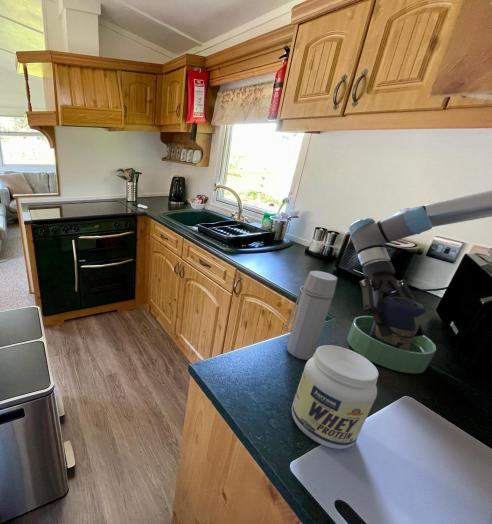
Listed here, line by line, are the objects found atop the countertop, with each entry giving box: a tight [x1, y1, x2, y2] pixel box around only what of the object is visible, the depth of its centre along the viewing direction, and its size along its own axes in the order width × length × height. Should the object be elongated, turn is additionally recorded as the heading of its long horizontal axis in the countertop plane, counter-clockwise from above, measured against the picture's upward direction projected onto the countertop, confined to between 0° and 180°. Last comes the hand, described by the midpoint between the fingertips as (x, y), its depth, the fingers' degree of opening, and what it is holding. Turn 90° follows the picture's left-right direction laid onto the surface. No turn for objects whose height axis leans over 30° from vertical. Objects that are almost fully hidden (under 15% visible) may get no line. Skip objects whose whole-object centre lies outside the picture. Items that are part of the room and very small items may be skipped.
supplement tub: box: [291, 344, 379, 450], centre depth 59 cm, size 12×12×17 cm
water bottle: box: [285, 270, 338, 361], centre depth 81 cm, size 9×8×25 cm
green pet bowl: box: [346, 315, 437, 375], centre depth 87 cm, size 19×19×7 cm
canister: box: [369, 295, 427, 351], centre depth 85 cm, size 10×10×18 cm
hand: (403, 335), depth 82 cm, fingers closed on canister, 10 cm apart
